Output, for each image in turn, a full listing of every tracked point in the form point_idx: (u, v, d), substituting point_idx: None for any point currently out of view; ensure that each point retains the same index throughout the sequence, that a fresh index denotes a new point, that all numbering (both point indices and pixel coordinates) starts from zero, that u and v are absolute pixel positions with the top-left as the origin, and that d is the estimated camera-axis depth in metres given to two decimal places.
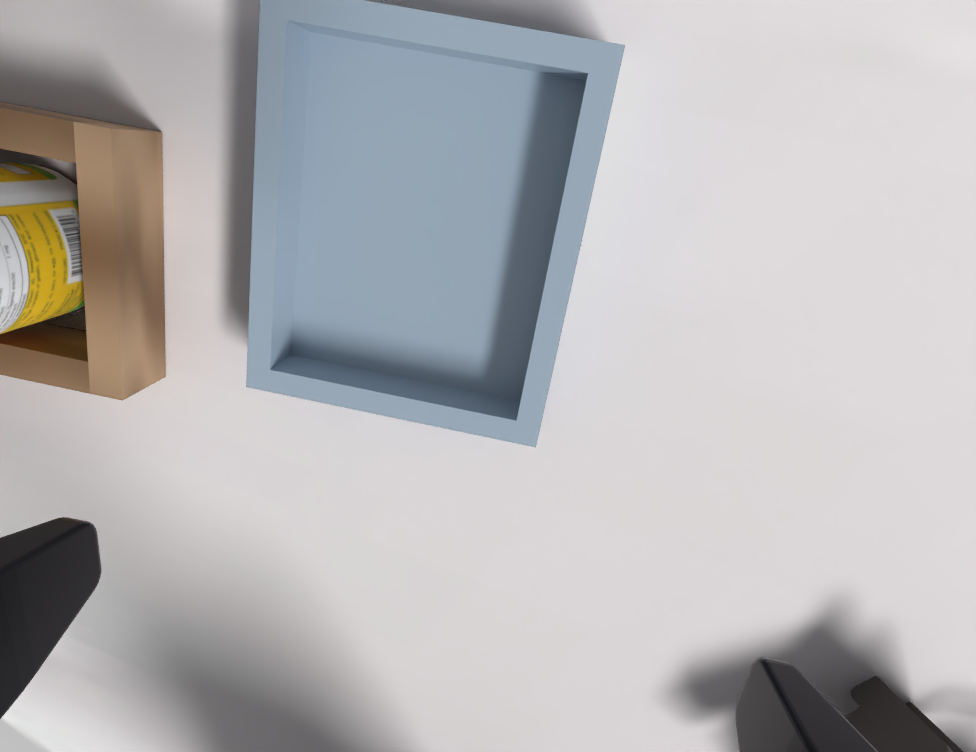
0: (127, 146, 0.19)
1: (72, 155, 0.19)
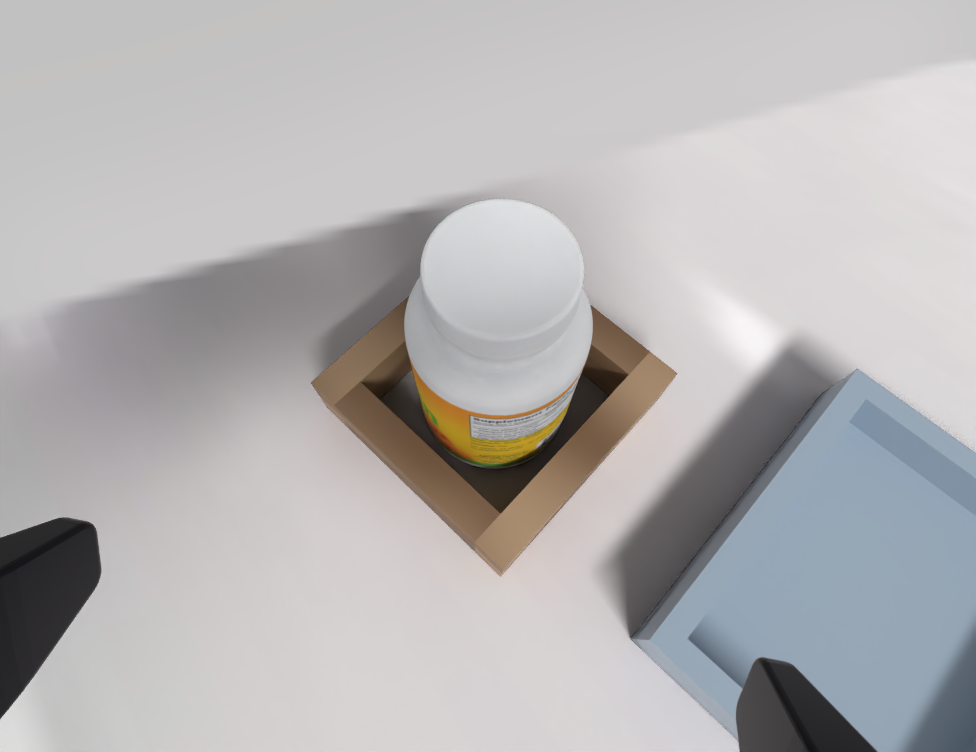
0: (663, 390, 0.22)
1: (630, 368, 0.22)
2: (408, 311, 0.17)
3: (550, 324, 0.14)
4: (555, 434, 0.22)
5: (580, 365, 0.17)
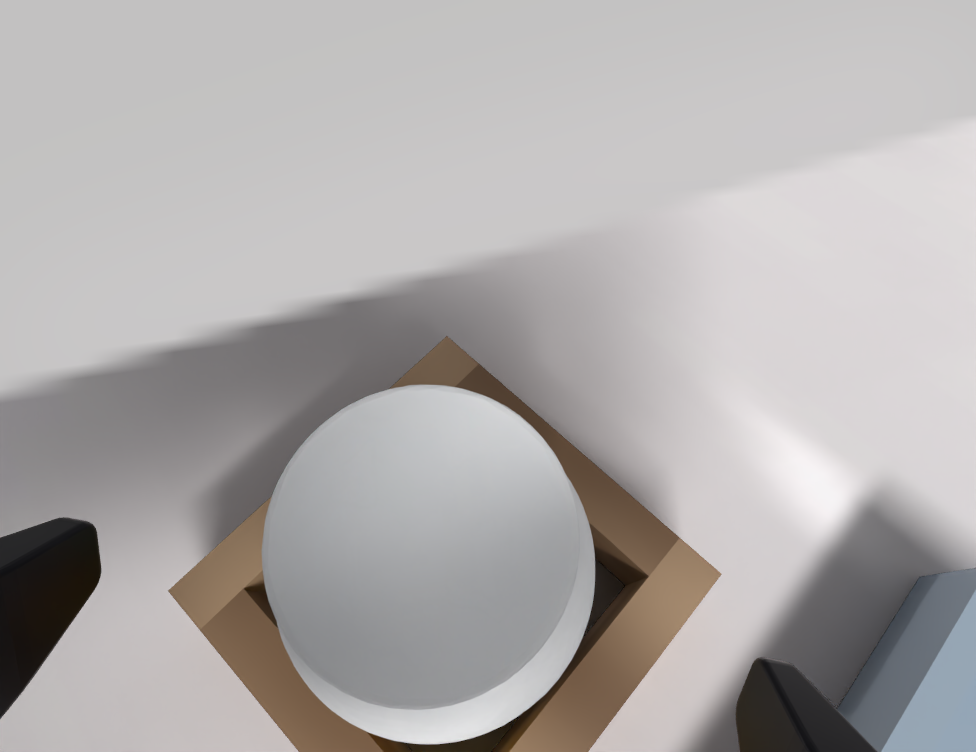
0: None
1: (651, 566, 0.14)
2: None
3: (511, 673, 0.07)
4: None
5: (573, 653, 0.10)
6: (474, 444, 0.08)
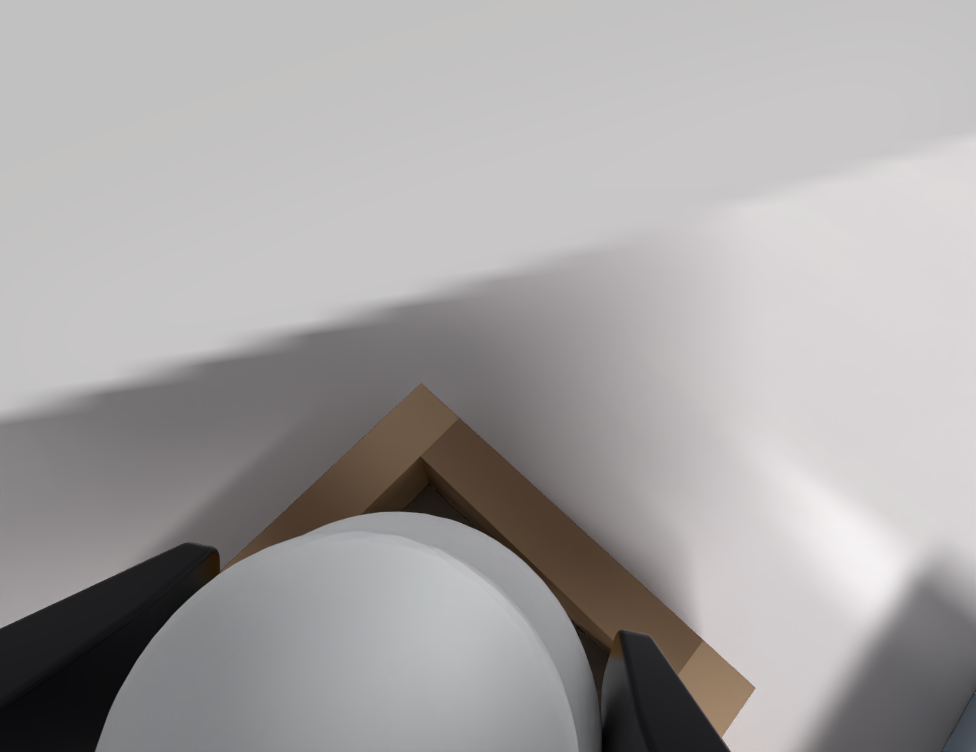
0: None
1: None
2: None
3: None
4: None
5: None
6: (421, 631, 0.05)
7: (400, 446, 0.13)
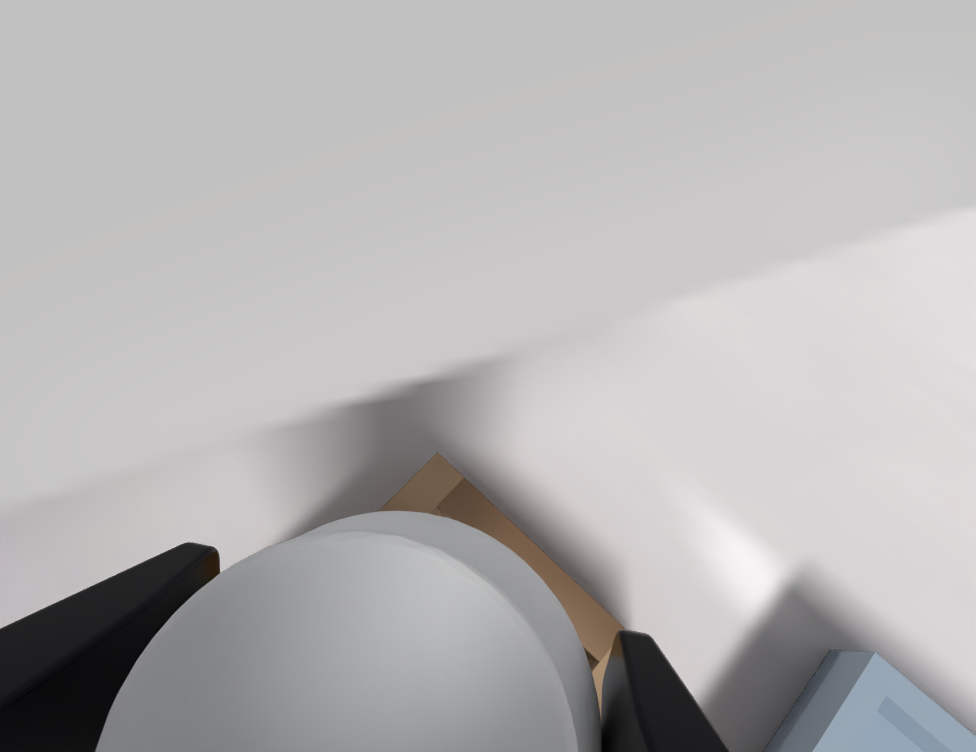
0: None
1: (601, 653, 0.18)
2: None
3: None
4: None
5: None
6: (420, 632, 0.05)
7: (424, 498, 0.20)
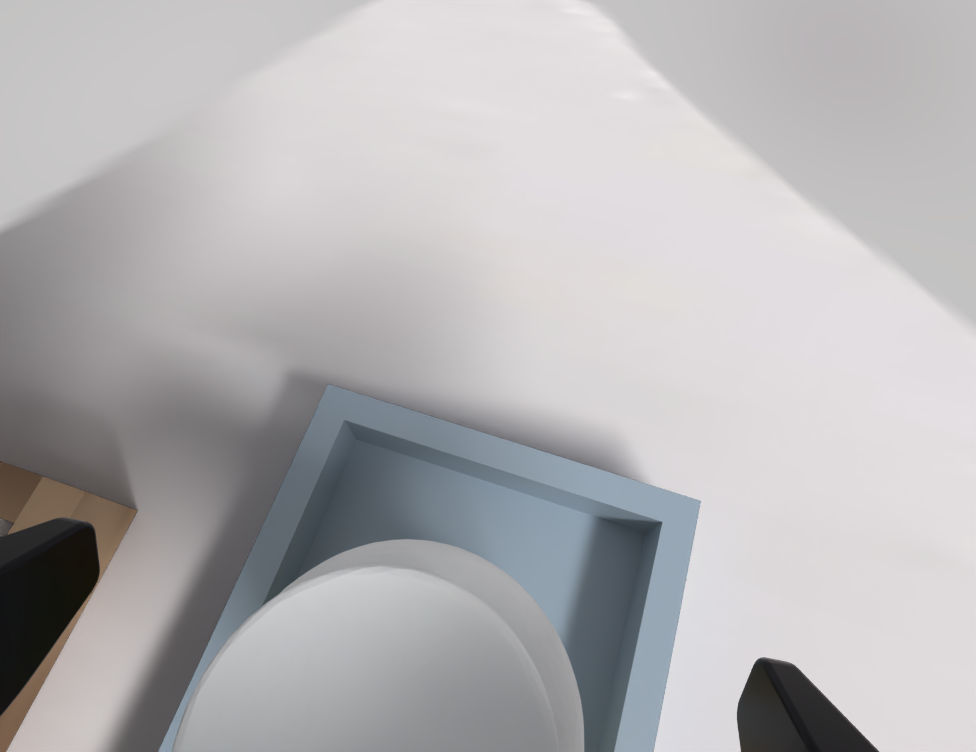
0: (91, 516, 0.16)
1: (15, 513, 0.15)
2: None
3: None
4: None
5: None
6: (431, 648, 0.07)
7: None
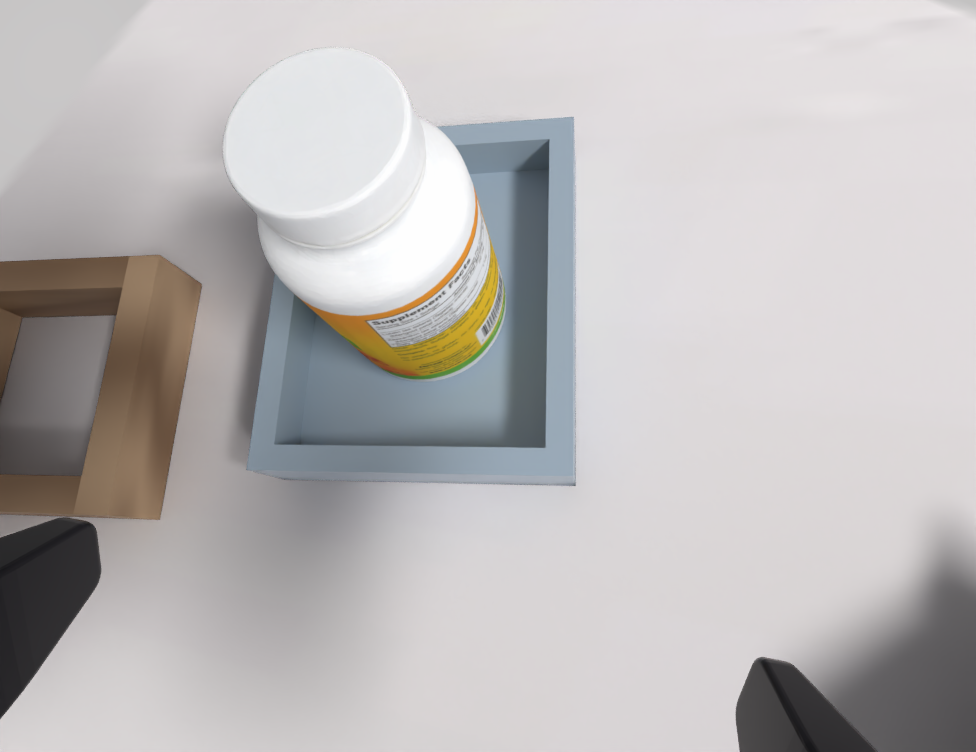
0: (170, 276, 0.22)
1: (121, 281, 0.22)
2: (258, 229, 0.15)
3: (383, 175, 0.12)
4: (499, 319, 0.20)
5: (464, 222, 0.14)
6: (332, 73, 0.12)
7: None
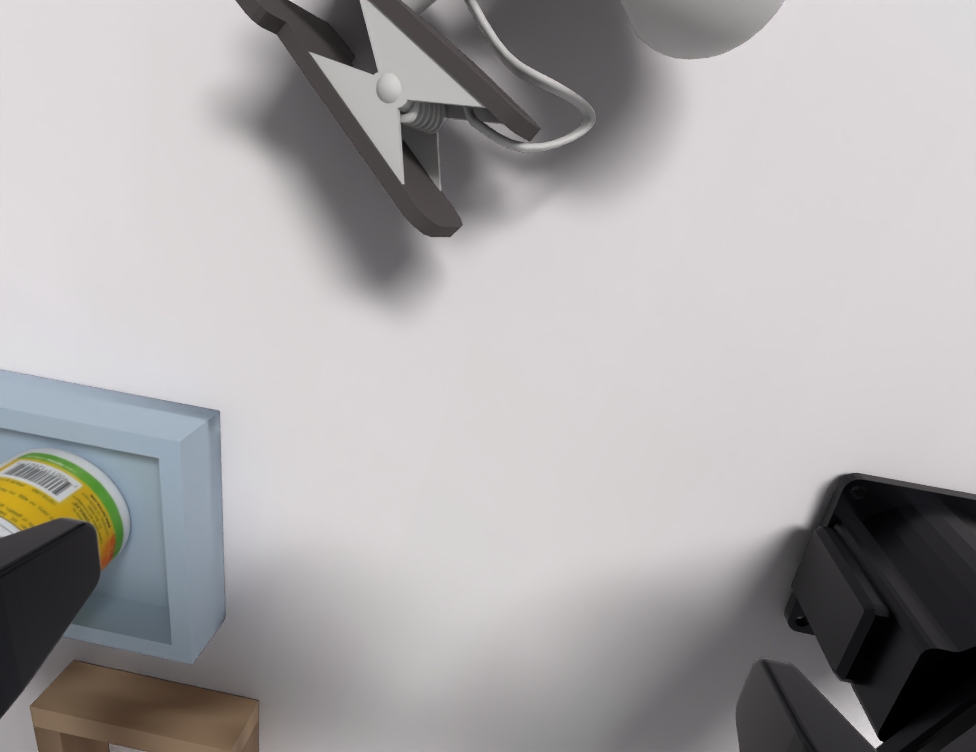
0: (53, 694, 0.27)
1: (55, 732, 0.27)
2: None
3: None
4: (61, 466, 0.22)
5: None
6: None
7: None
